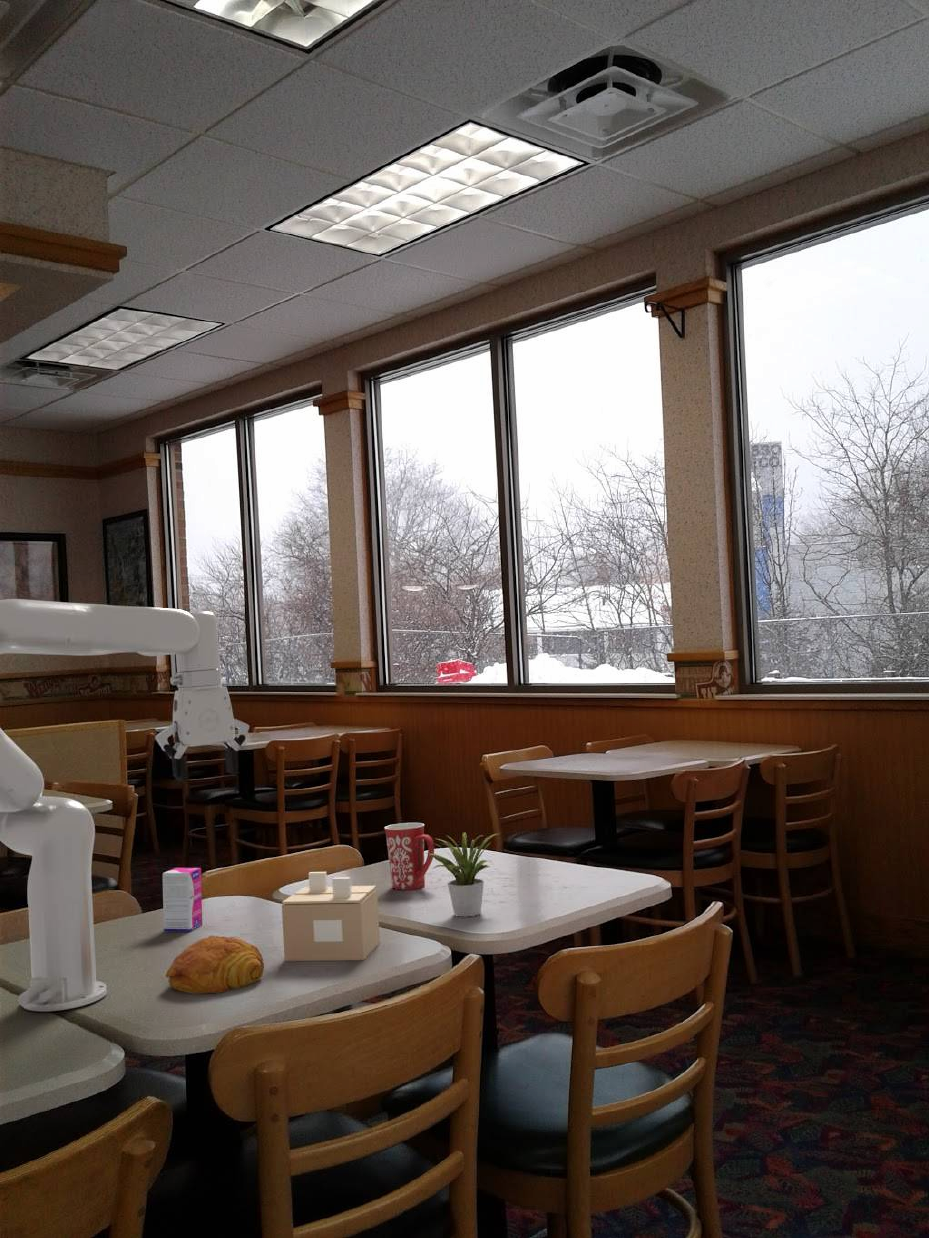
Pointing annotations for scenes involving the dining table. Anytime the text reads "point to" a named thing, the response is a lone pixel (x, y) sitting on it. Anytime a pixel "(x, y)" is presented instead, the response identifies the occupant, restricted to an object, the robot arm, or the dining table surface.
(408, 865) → the mug
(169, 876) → the supplement box
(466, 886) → the house plant
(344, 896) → the flap near
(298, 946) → the carton
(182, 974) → the croissant
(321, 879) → the flap far
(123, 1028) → the dining table surface
